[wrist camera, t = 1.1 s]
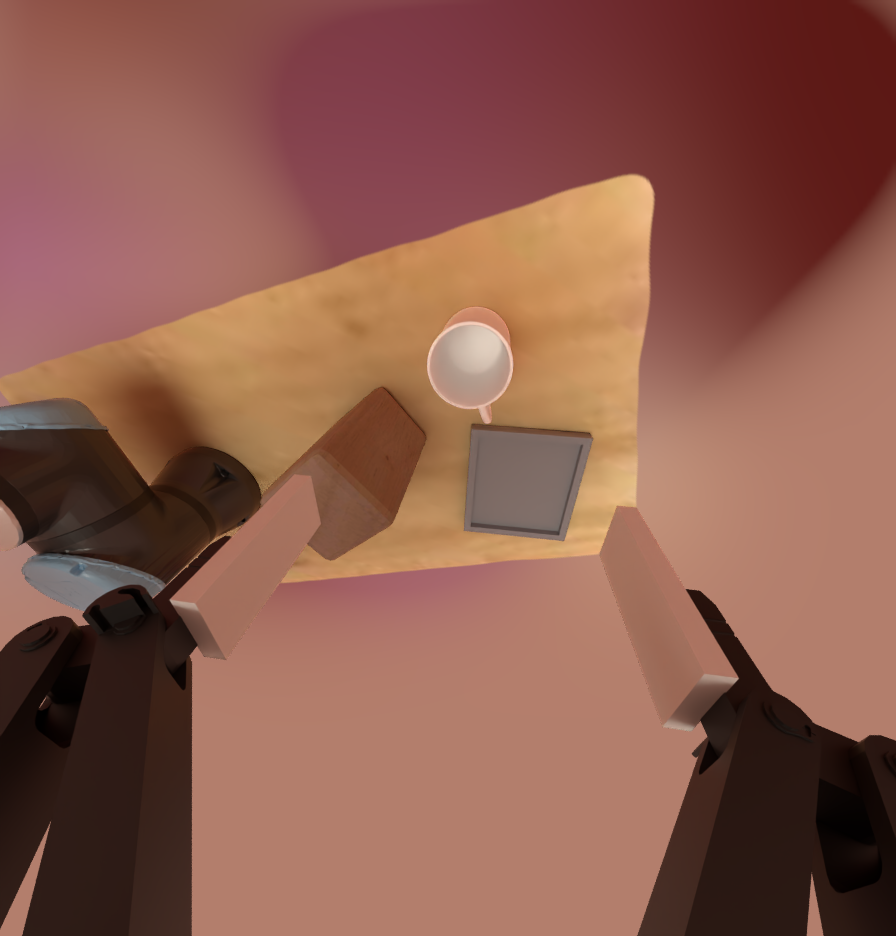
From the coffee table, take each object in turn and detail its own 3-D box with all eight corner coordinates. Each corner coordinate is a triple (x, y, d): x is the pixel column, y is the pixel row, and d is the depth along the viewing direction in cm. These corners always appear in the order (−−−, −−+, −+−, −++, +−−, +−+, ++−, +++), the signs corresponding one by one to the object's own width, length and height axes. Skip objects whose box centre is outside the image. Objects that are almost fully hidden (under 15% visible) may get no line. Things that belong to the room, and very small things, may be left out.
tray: (464, 523, 56) (463, 530, 54) (472, 424, 46) (471, 429, 45) (562, 533, 54) (564, 541, 53) (589, 433, 45) (593, 438, 44)
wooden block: (430, 436, 48) (395, 527, 31) (382, 470, 52) (328, 567, 35) (382, 382, 45) (315, 449, 28) (335, 423, 49) (251, 504, 32)
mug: (516, 397, 44) (523, 435, 34) (453, 407, 46) (441, 445, 35) (505, 299, 38) (510, 308, 28) (434, 314, 40) (414, 328, 30)
